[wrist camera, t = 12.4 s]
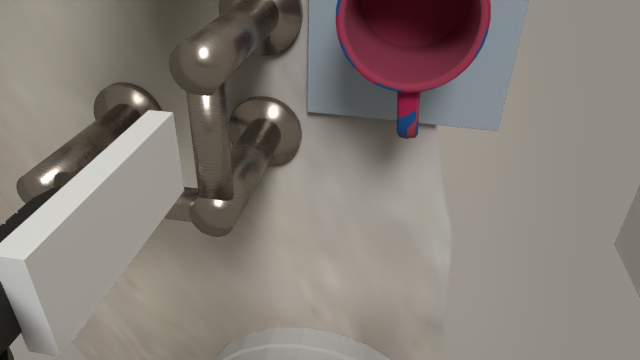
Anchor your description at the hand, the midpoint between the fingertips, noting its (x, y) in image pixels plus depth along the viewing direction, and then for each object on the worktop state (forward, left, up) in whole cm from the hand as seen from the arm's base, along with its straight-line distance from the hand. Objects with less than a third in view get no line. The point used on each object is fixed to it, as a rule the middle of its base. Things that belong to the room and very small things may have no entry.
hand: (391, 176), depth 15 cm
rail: (+4, -14, -18) cm, 23 cm away
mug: (0, 0, -17) cm, 17 cm away
